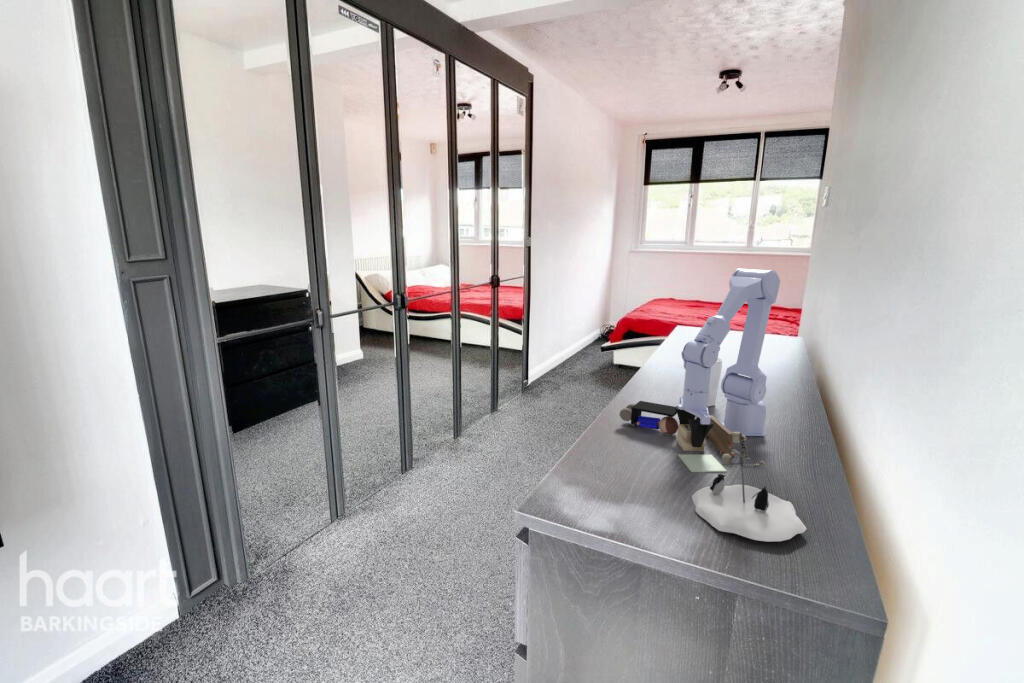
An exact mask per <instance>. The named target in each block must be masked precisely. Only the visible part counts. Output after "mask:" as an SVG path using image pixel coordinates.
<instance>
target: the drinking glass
mask: <svg viewBox="0 0 1024 683" xmlns="http://www.w3.org/2000/svg"><path fill="white" fill-rule="evenodd" d="M722 370H723V359H722V358H720V357H718V359H717V361H716V362H715V364H714V365H713V366H711V373H710V382H709V391H708V401H707V407H714V406H715V404H716V401H717V399H716V398H717V394H718V388H719V386H720V380H721V376H722V375H721V374H722Z"/></svg>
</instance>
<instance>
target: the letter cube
mask: <svg viewBox="0 0 1024 683" xmlns="http://www.w3.org/2000/svg"><path fill="white" fill-rule="evenodd" d="M676 438H677V439H676V443H677V444H678V445H679V447H681V449H682V450H683V452H684V451H685V452H687V451H688V452H689V451H691V452H692V451H696V452H705V446H706V439H707V438H706V437H705V439H704V442H703V444H702V447H693V446H692V442H691V429H690V425H689V424H680V423H678V430H677V436H676Z"/></svg>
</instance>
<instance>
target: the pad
mask: <svg viewBox="0 0 1024 683" xmlns="http://www.w3.org/2000/svg"><path fill="white" fill-rule="evenodd" d="M678 458H680V461H682V462H683V464H684V465H685V467H687V469H688V471H690V472H691V473H727V469H725V466H723V465H722V464H721V462H720V461H718V460H717V458H715V457H714V455H712V454H682V453H681V454H678Z"/></svg>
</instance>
